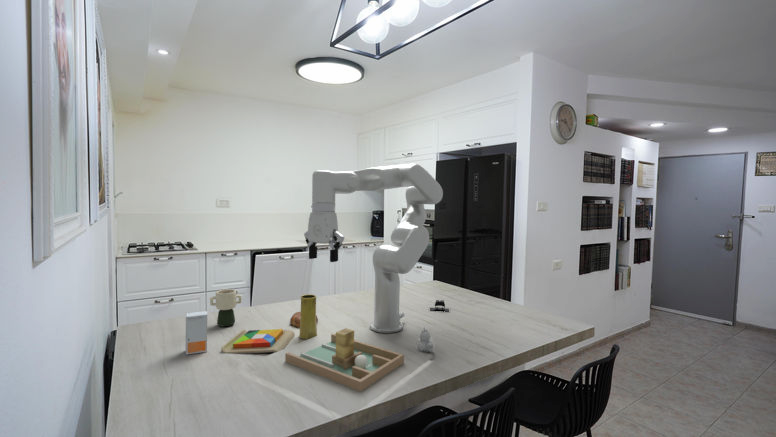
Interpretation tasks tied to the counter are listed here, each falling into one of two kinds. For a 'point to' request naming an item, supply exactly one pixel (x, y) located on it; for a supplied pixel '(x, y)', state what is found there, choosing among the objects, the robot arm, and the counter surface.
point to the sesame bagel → (297, 319)
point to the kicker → (345, 349)
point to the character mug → (225, 306)
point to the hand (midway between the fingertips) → (323, 260)
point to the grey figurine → (425, 342)
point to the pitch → (354, 376)
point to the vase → (308, 317)
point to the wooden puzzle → (258, 341)
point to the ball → (361, 361)
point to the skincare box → (196, 332)
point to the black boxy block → (439, 303)
